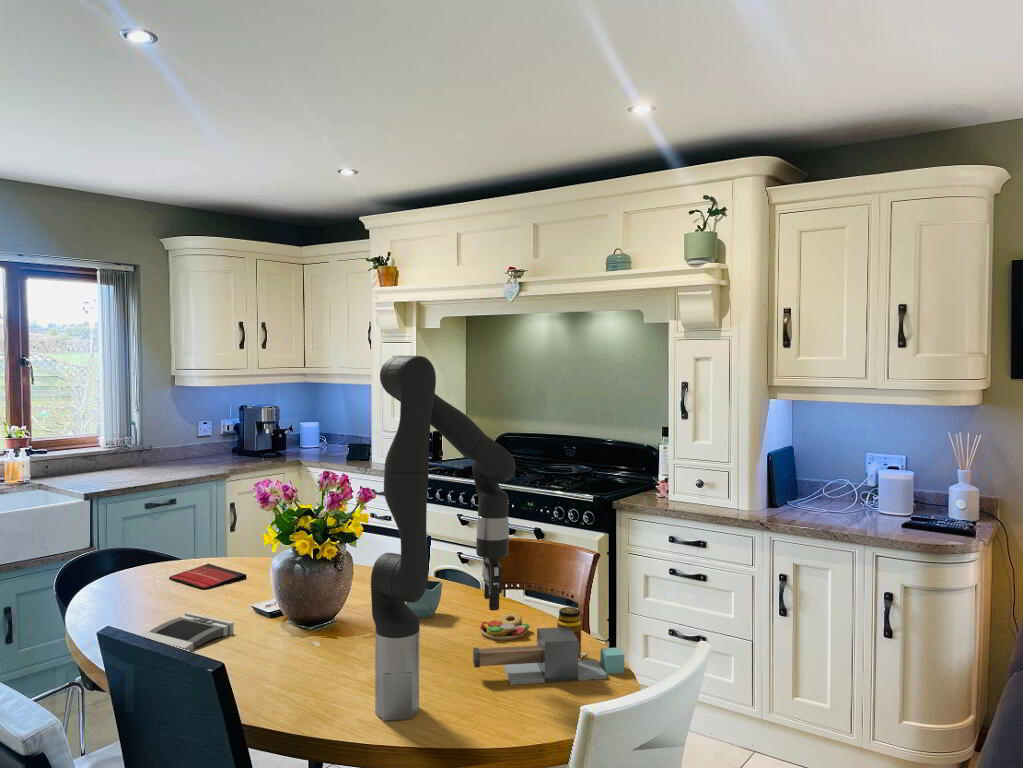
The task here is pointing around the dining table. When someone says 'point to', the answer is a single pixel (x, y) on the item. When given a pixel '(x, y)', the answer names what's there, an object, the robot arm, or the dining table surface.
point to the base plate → (534, 675)
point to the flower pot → (428, 600)
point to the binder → (207, 576)
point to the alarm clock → (190, 630)
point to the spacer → (612, 660)
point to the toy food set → (504, 628)
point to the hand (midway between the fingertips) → (491, 604)
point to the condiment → (571, 623)
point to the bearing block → (558, 653)
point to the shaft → (507, 655)
